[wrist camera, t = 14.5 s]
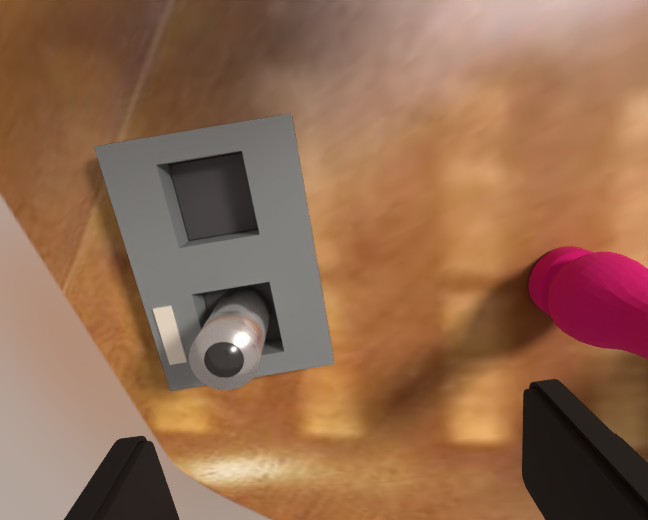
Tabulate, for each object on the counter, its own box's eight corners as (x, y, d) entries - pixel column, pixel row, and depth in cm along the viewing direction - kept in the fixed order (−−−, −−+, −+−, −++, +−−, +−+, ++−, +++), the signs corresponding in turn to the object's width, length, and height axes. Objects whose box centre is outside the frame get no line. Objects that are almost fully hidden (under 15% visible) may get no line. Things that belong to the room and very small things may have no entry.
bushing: (211, 291, 32) (180, 334, 24) (265, 282, 32) (251, 323, 24) (223, 339, 33) (198, 395, 26) (275, 331, 33) (265, 384, 26)
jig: (111, 147, 29) (92, 146, 26) (292, 116, 29) (290, 113, 26) (180, 374, 34) (169, 392, 32) (332, 349, 34) (334, 365, 32)
